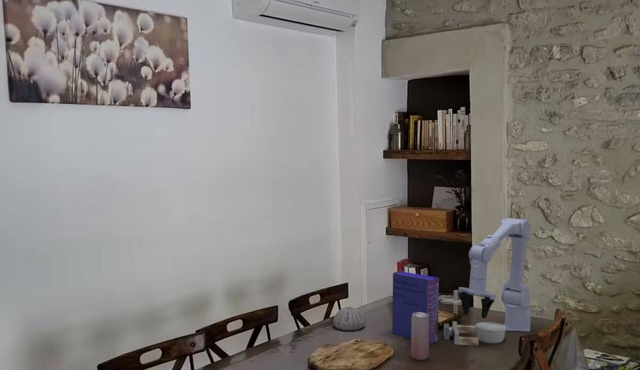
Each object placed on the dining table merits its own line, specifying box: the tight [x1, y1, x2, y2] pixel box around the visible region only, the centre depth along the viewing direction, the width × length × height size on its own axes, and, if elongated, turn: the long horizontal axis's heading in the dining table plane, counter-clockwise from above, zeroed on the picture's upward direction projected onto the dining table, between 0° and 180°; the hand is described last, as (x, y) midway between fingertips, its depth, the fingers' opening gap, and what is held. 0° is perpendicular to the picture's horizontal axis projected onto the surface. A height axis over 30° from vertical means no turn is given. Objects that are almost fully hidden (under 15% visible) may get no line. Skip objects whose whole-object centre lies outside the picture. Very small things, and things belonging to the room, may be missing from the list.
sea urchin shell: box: [332, 306, 367, 331], centre depth 246 cm, size 13×14×8 cm
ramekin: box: [474, 321, 507, 344], centre depth 230 cm, size 11×11×5 cm
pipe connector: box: [443, 289, 462, 315], centre depth 265 cm, size 10×10×10 cm
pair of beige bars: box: [457, 324, 480, 347], centre depth 232 cm, size 7×16×2 cm, turn 171°
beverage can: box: [410, 312, 430, 361], centre depth 210 cm, size 6×6×15 cm
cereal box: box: [391, 270, 440, 345], centre depth 232 cm, size 17×5×24 cm, turn 47°
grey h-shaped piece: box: [443, 320, 460, 346], centre depth 232 cm, size 5×16×4 cm, turn 171°
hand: (474, 315), depth 225 cm, fingers open, 7 cm apart
